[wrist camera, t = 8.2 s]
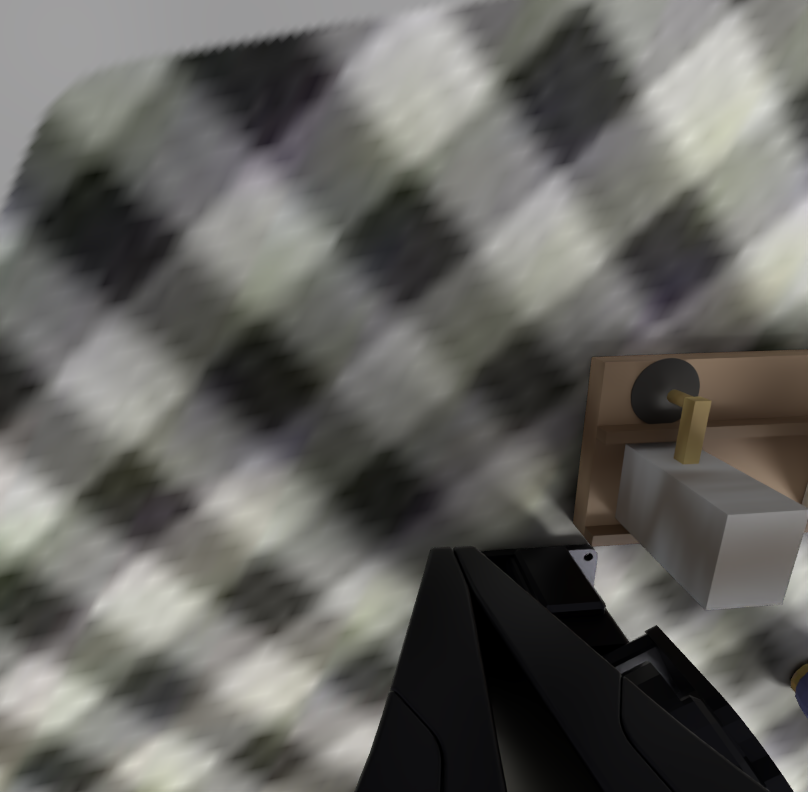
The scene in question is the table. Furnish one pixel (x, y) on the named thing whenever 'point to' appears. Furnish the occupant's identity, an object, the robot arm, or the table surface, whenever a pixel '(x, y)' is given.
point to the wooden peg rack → (700, 467)
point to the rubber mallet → (801, 687)
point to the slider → (805, 498)
